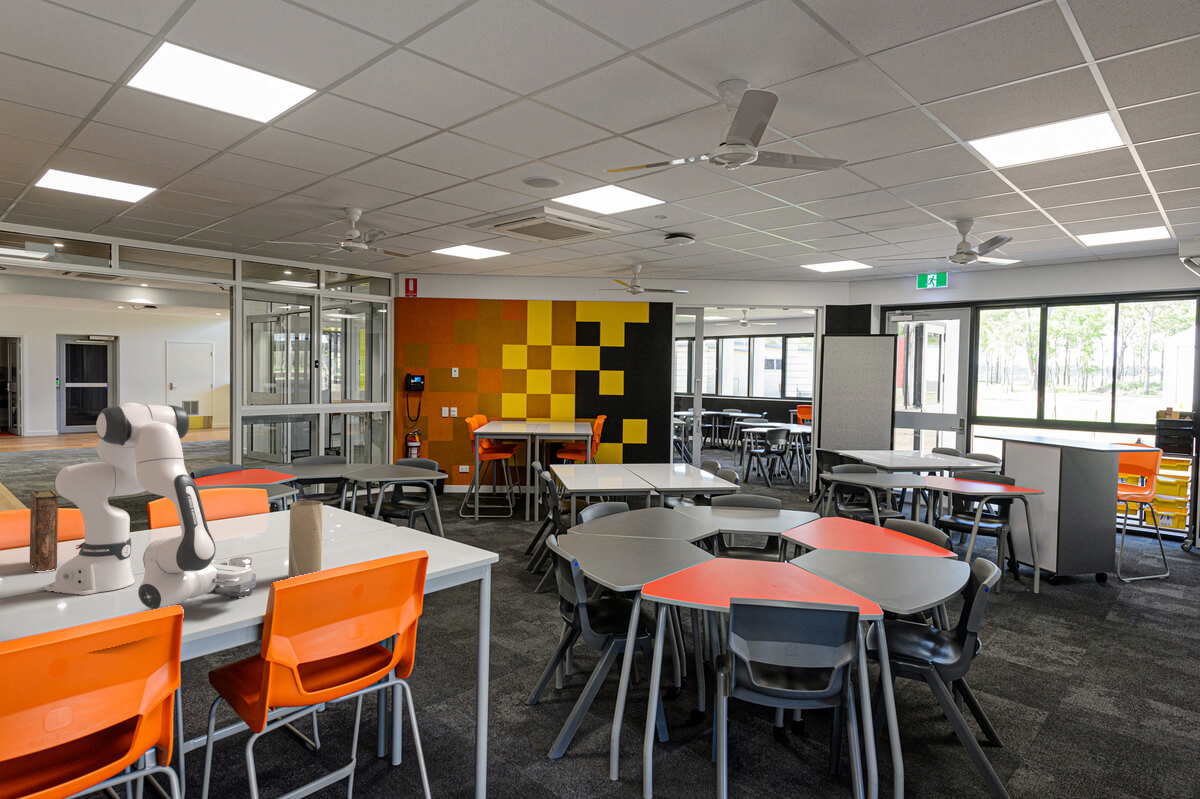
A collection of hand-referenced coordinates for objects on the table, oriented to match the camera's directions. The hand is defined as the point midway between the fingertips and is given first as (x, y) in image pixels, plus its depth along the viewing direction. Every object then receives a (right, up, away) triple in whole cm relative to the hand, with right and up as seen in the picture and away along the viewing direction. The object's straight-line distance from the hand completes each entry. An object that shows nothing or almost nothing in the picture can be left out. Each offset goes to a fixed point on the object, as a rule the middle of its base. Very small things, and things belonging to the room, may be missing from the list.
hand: (238, 566), depth 194 cm
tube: (+10, -9, +21) cm, 25 cm away
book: (-79, -6, +22) cm, 82 cm away
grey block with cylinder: (0, -7, +1) cm, 7 cm away
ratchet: (-6, -9, +3) cm, 11 cm away
